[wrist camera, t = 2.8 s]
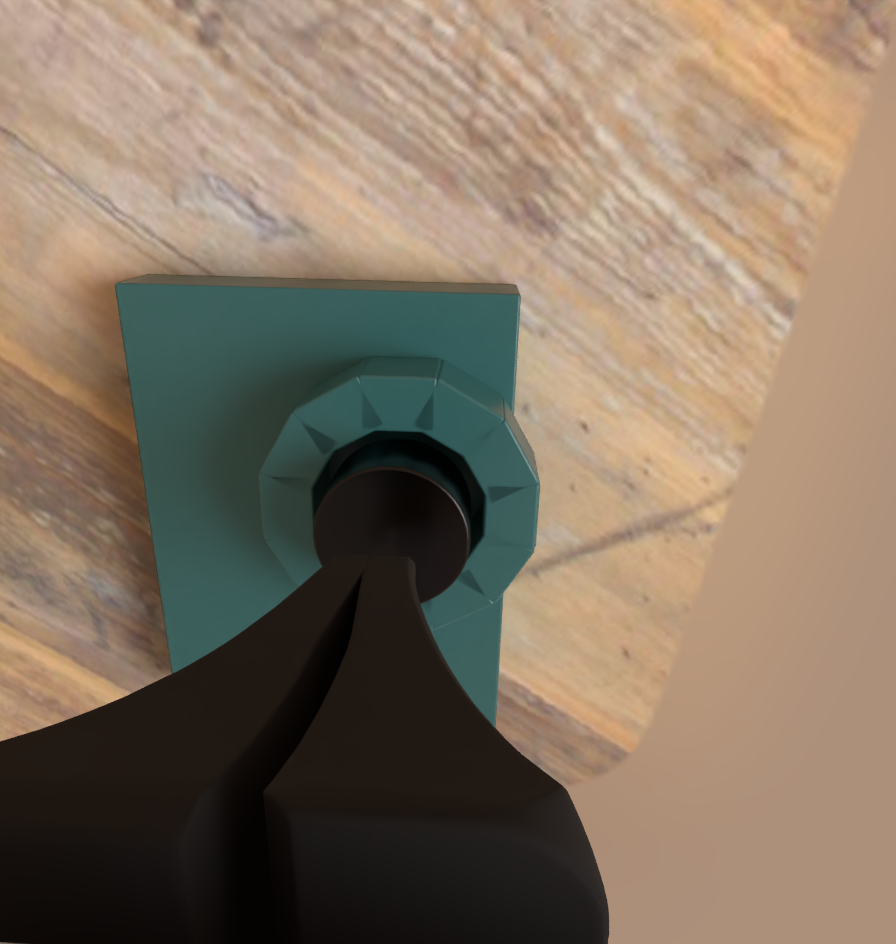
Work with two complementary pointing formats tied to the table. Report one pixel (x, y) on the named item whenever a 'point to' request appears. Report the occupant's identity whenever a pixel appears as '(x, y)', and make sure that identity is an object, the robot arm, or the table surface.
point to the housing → (320, 439)
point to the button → (399, 511)
